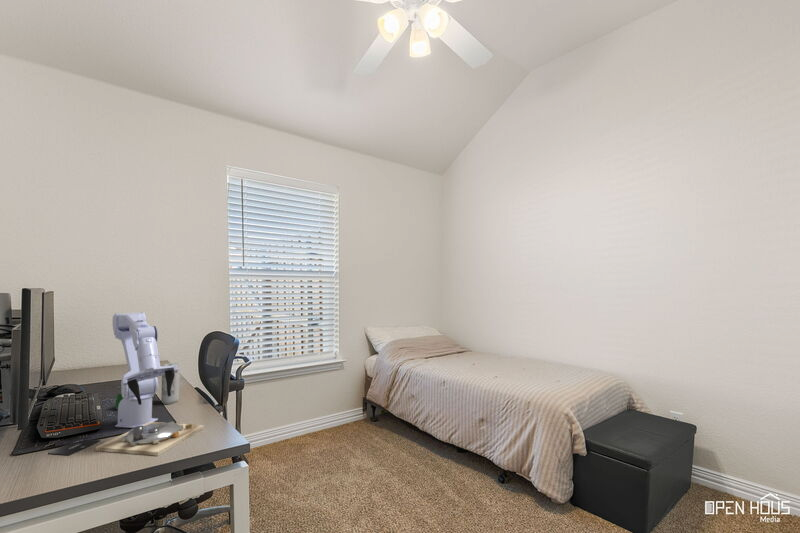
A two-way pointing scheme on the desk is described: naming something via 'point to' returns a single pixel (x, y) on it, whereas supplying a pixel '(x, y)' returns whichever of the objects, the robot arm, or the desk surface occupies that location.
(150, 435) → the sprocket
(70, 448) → the solid state drive
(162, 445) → the board
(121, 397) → the clamp
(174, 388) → the energy drink can
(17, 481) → the desk surface
